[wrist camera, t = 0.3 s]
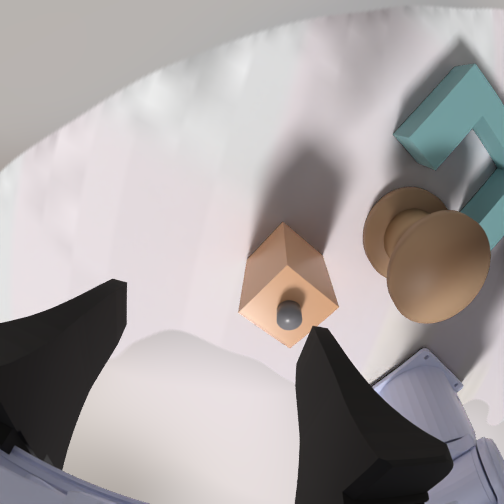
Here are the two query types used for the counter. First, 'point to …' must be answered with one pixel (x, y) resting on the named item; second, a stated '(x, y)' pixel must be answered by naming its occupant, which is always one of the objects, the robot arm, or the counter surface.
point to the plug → (286, 287)
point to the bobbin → (426, 254)
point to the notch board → (462, 137)
